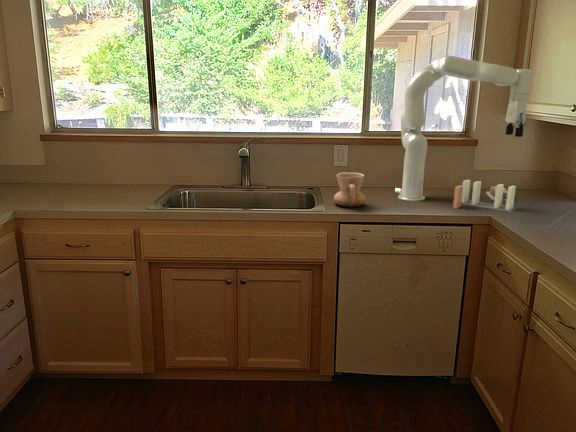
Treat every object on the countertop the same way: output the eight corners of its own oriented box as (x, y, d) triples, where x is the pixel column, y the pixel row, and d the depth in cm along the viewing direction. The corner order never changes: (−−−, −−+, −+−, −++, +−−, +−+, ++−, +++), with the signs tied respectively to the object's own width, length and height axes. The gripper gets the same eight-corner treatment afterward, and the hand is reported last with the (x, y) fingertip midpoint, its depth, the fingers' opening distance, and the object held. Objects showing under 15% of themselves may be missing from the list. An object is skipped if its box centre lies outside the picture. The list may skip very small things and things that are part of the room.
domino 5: (505, 209, 203) (508, 187, 200) (509, 207, 206) (512, 185, 204) (509, 210, 202) (512, 187, 199) (512, 208, 205) (515, 186, 203)
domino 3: (471, 203, 213) (473, 182, 210) (475, 202, 216) (477, 181, 213) (474, 204, 212) (477, 183, 209) (478, 202, 215) (481, 181, 212)
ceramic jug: (332, 200, 220) (333, 170, 216) (363, 200, 219) (364, 171, 215) (334, 210, 203) (335, 178, 199) (367, 210, 202) (368, 179, 198)
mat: (451, 203, 216) (451, 201, 216) (460, 199, 223) (460, 198, 223) (509, 213, 199) (510, 211, 199) (517, 208, 206) (517, 207, 206)
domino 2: (460, 202, 216) (462, 181, 213) (464, 200, 219) (467, 179, 217) (464, 202, 215) (466, 181, 212) (468, 200, 218) (470, 180, 216)
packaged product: (486, 185, 237) (507, 186, 234) (485, 194, 238) (506, 195, 236) (492, 192, 220) (515, 193, 218) (491, 202, 221) (514, 203, 219)
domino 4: (493, 207, 206) (496, 185, 203) (497, 205, 210) (500, 184, 207) (497, 208, 205) (500, 186, 202) (501, 206, 209) (504, 184, 206)
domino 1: (452, 209, 205) (455, 187, 203) (457, 207, 209) (459, 185, 206) (456, 209, 204) (458, 187, 202) (461, 207, 208) (463, 185, 205)
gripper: (502, 97, 218) (497, 133, 223) (519, 97, 201) (513, 137, 206) (518, 97, 218) (513, 134, 222) (536, 97, 201) (530, 137, 206)
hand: (513, 135), depth 214 cm, fingers open, 9 cm apart
